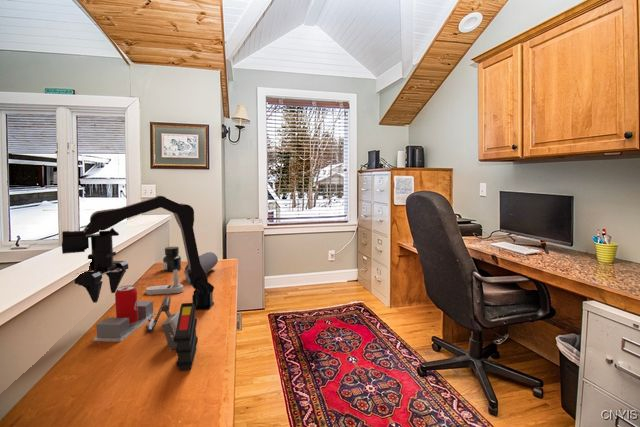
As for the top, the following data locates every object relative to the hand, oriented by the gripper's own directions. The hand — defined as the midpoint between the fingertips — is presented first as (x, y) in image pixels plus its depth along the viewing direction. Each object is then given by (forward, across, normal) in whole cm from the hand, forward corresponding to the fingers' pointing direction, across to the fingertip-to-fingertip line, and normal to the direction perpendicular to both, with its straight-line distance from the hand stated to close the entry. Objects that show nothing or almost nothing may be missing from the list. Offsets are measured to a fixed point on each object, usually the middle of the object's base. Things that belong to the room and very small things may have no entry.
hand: (104, 297), depth 110 cm
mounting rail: (+10, 0, +7) cm, 12 cm away
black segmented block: (+10, +21, +35) cm, 42 cm away
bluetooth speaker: (+10, -62, +10) cm, 64 cm away
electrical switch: (+10, +11, +29) cm, 32 cm away
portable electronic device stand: (+10, -1, +18) cm, 20 cm away
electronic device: (+10, -35, +3) cm, 36 cm away
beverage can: (+9, 0, +7) cm, 11 cm away
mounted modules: (+10, 0, +7) cm, 12 cm away
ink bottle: (+10, -72, -9) cm, 73 cm away
